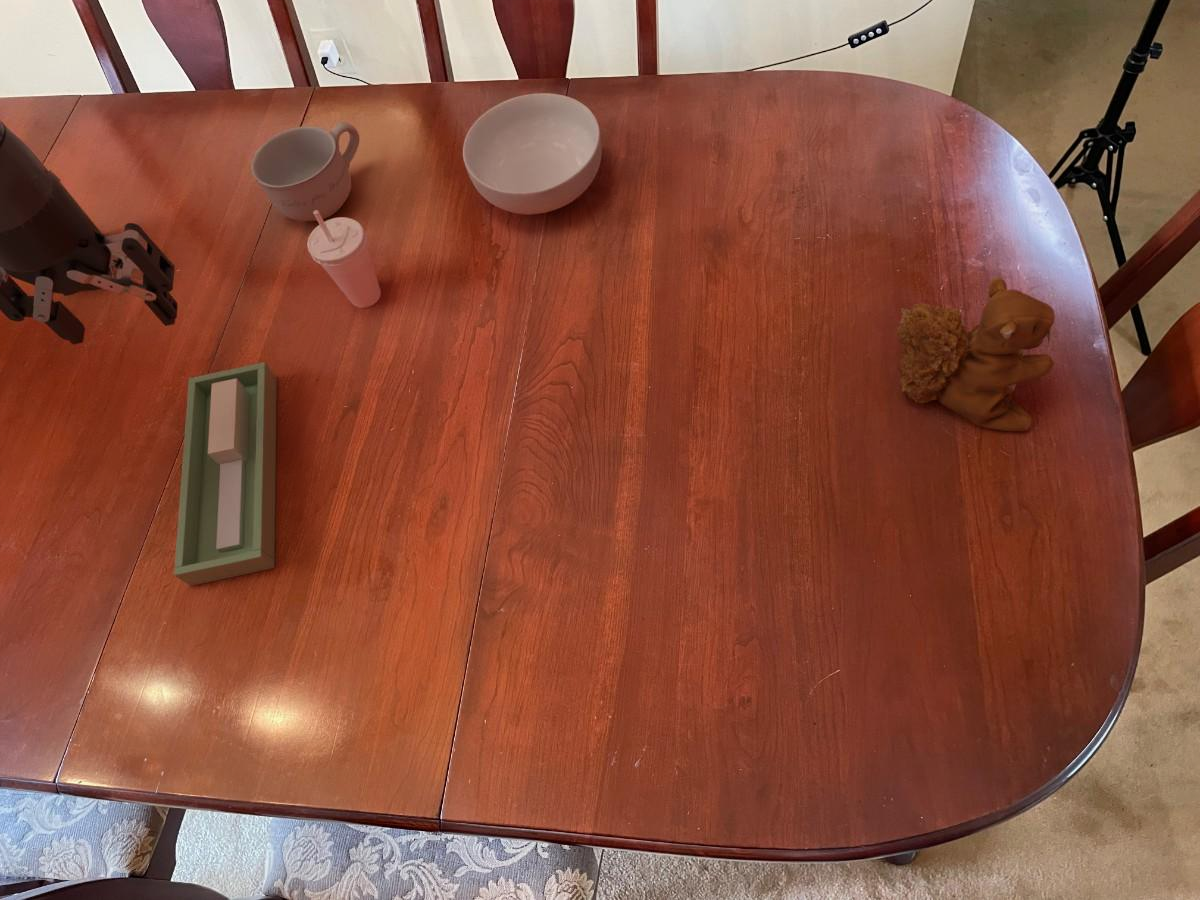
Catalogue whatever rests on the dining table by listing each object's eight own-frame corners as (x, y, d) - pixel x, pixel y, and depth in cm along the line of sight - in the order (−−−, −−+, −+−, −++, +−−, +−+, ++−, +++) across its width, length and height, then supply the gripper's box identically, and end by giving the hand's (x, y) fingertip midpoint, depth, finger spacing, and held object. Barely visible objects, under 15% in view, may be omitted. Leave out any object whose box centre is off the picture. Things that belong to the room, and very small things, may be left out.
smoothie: (328, 303, 100) (276, 218, 88) (363, 267, 103) (318, 178, 91) (367, 324, 98) (320, 239, 86) (403, 287, 100) (361, 199, 88)
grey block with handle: (225, 398, 94) (211, 383, 92) (249, 393, 94) (236, 378, 92) (217, 553, 85) (202, 541, 82) (245, 547, 85) (230, 535, 82)
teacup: (297, 247, 106) (268, 199, 99) (265, 198, 111) (235, 149, 104) (395, 195, 108) (373, 145, 101) (359, 149, 113) (337, 99, 106)
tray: (274, 568, 84) (260, 556, 81) (189, 586, 84) (173, 575, 81) (276, 376, 96) (264, 361, 93) (202, 392, 96) (188, 377, 93)
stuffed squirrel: (1034, 435, 82) (1087, 356, 71) (883, 423, 85) (911, 344, 73) (1027, 352, 87) (1076, 265, 76) (884, 342, 89) (911, 256, 78)
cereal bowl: (482, 141, 111) (470, 96, 105) (608, 134, 110) (603, 87, 103) (468, 238, 103) (453, 195, 97) (603, 232, 101) (597, 187, 95)
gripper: (100, 143, 66) (204, 281, 80) (-82, 179, 65) (55, 311, 79) (88, 212, 62) (199, 344, 76) (-105, 250, 62) (43, 375, 76)
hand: (125, 327), depth 78 cm, fingers open, 8 cm apart
